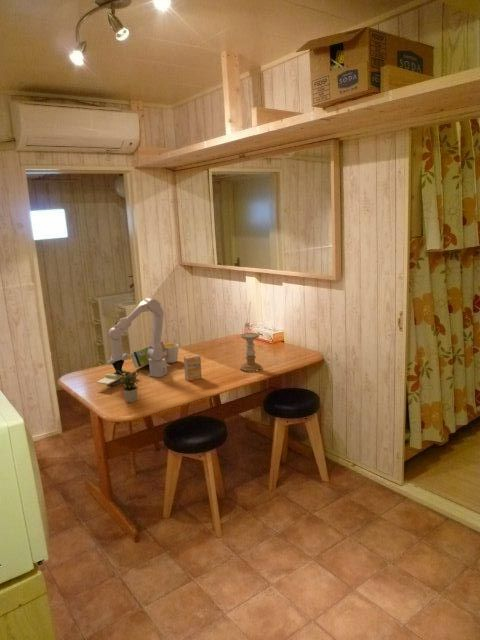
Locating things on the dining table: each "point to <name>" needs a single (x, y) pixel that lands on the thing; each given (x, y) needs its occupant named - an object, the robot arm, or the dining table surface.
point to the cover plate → (109, 379)
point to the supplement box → (192, 367)
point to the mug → (171, 352)
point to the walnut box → (122, 378)
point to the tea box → (144, 356)
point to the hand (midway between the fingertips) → (118, 373)
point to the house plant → (129, 387)
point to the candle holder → (250, 353)
